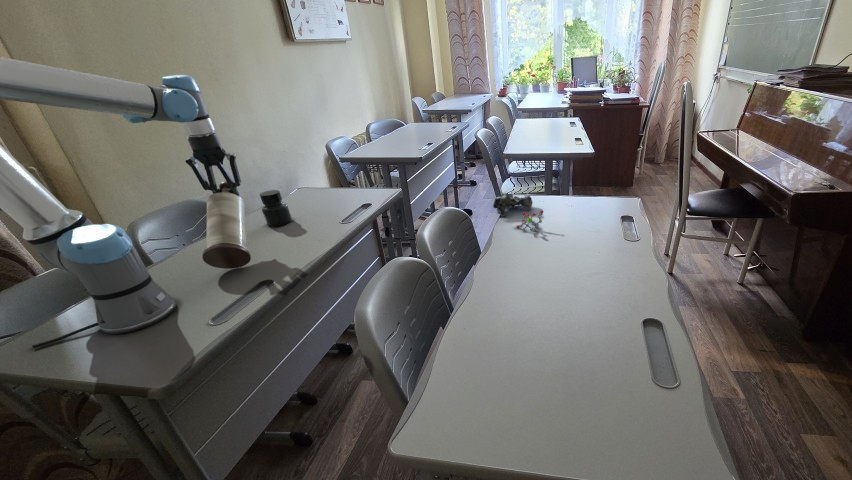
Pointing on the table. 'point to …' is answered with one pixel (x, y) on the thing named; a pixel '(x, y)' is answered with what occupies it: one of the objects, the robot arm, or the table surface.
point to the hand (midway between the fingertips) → (232, 207)
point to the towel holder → (226, 230)
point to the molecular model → (530, 221)
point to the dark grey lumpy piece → (511, 202)
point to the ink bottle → (275, 208)
